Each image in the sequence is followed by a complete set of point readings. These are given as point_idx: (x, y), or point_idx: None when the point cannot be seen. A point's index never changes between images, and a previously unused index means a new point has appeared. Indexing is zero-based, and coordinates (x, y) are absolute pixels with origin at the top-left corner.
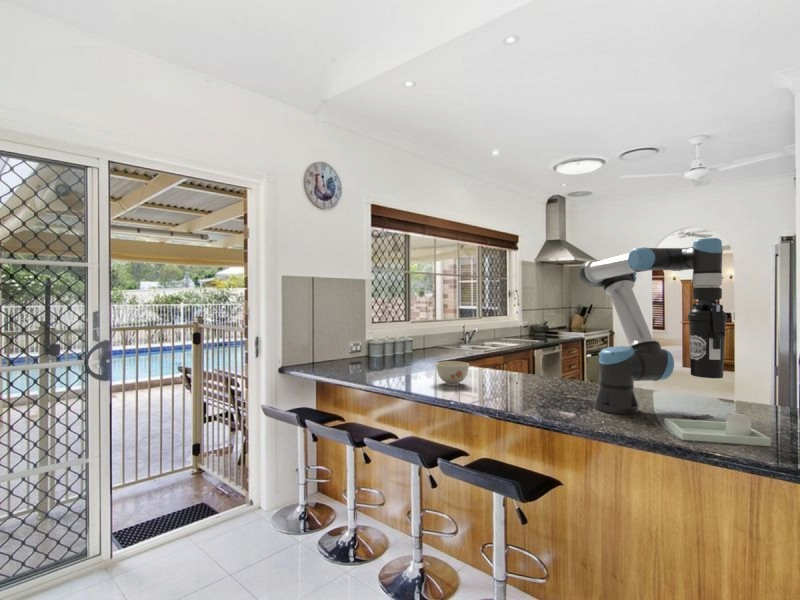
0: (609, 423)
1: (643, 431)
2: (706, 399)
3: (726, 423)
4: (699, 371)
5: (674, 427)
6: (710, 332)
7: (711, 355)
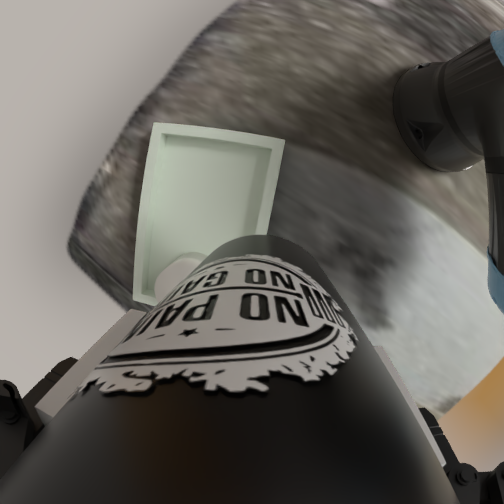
0: (307, 31)
1: (245, 76)
2: (467, 378)
3: (193, 260)
4: (214, 251)
5: (205, 127)
6: (10, 459)
7: (117, 327)
